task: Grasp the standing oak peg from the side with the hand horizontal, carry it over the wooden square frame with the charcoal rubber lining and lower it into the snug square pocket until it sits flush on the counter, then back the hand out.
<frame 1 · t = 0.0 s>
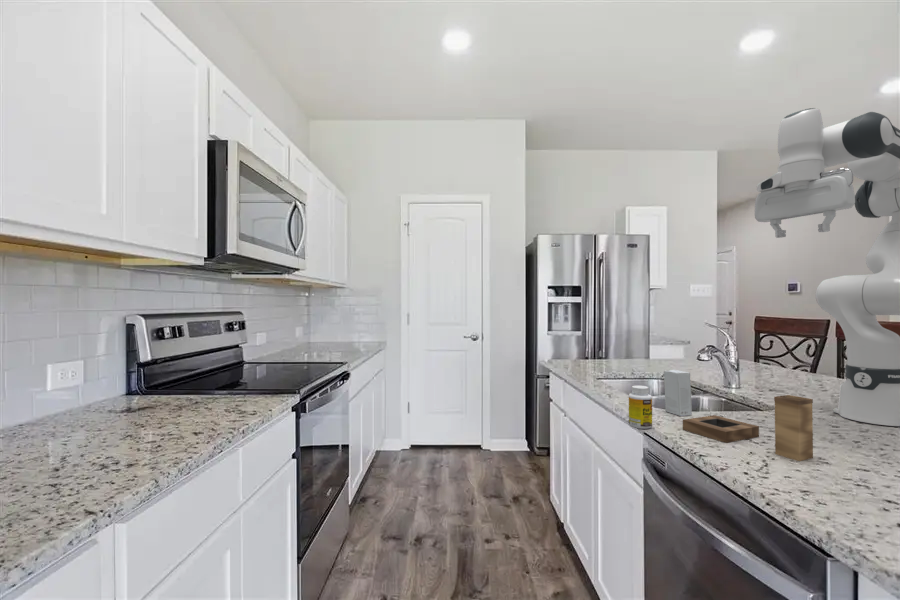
hand: (801, 234, 107), 48 cm above the countertop, tool pointing down, fingers open, 8 cm apart
peg: (793, 456, 91), on the countertop
skincare box: (677, 414, 127), on the countertop
wooden square frame: (719, 433, 108), on the countertop
supplement bottle: (640, 427, 114), on the countertop
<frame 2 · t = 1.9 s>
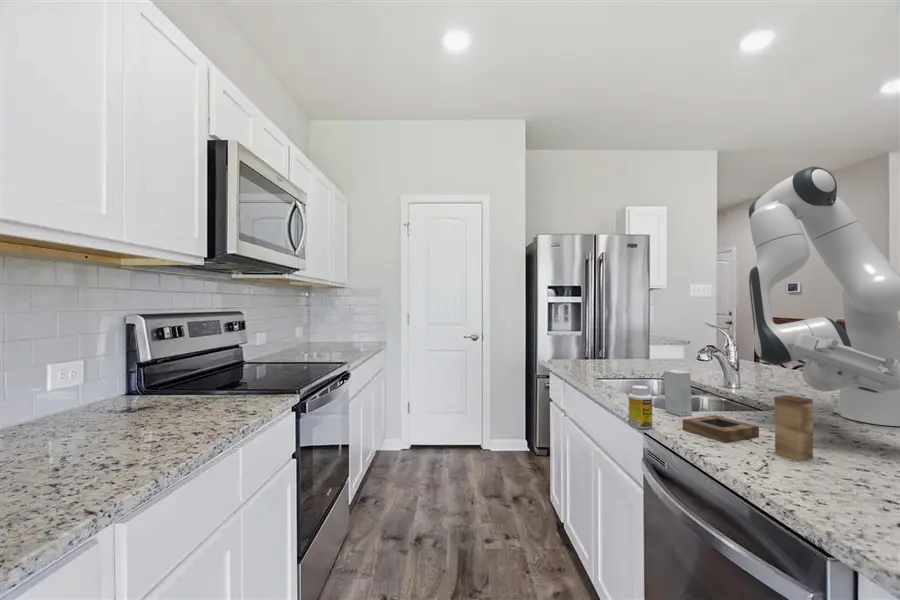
hand: (862, 352, 90), 21 cm above the countertop, tool pointing upward, fingers open, 8 cm apart
nothing on the countertop moved.
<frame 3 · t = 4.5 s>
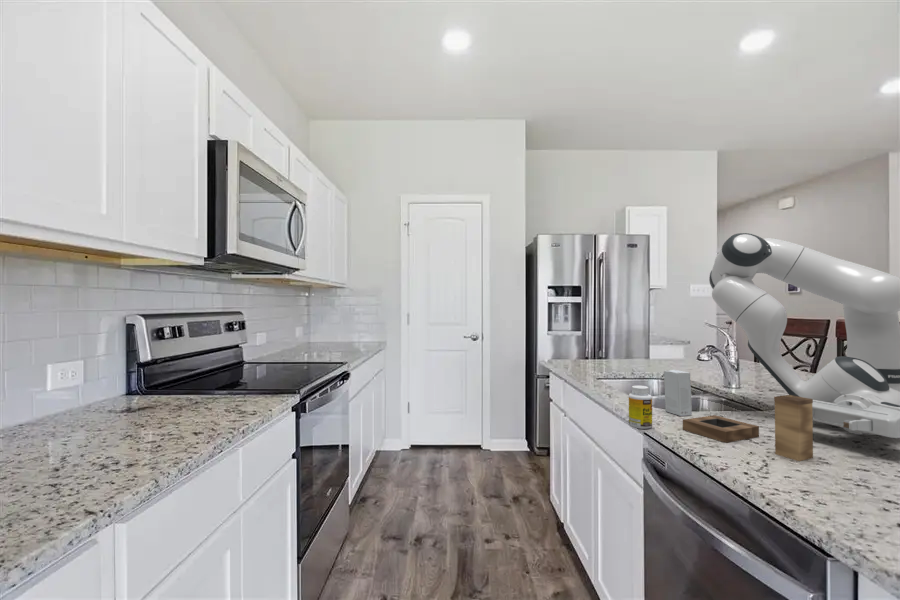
hand: (820, 419, 95), 6 cm above the countertop, tool horizontal, fingers open, 8 cm apart
nothing on the countertop moved.
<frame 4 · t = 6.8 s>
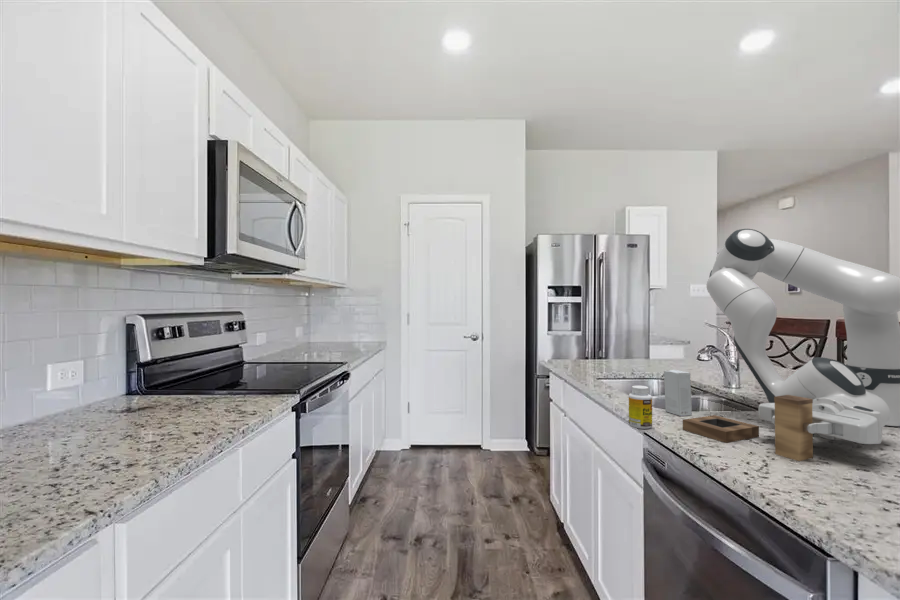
hand: (790, 424, 91), 7 cm above the countertop, tool horizontal, fingers closed on peg, 4 cm apart
peg: (793, 456, 91), on the countertop, touching gripper
everything else where it was.
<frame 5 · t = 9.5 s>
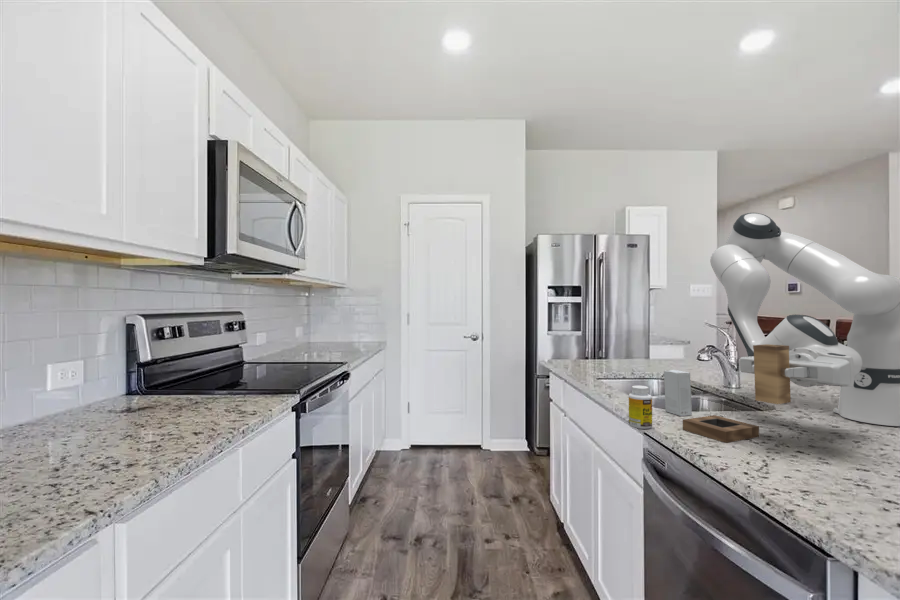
hand: (769, 371, 96), 17 cm above the countertop, tool horizontal, fingers closed on peg, 4 cm apart
peg: (772, 401, 96), point 10 cm above the countertop, touching gripper
everything else where it was.
when the fingers open (8 cm above the countertop, at t = 12.3 s): peg drops 1 cm, resting in wooden square frame.
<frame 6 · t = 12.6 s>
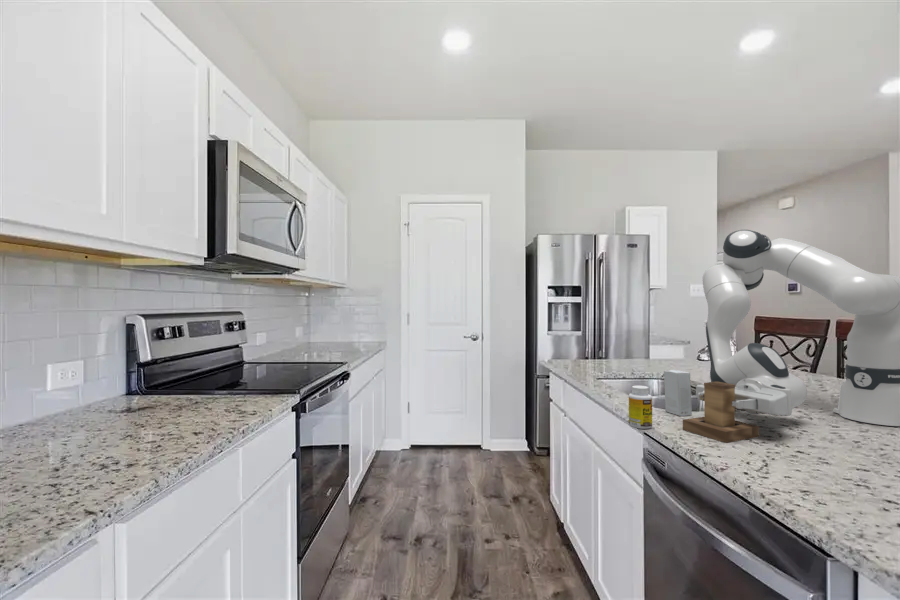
hand: (716, 400, 107), 8 cm above the countertop, tool horizontal, fingers open, 8 cm apart
peg: (719, 433, 108), resting in wooden square frame
everything else where it was.
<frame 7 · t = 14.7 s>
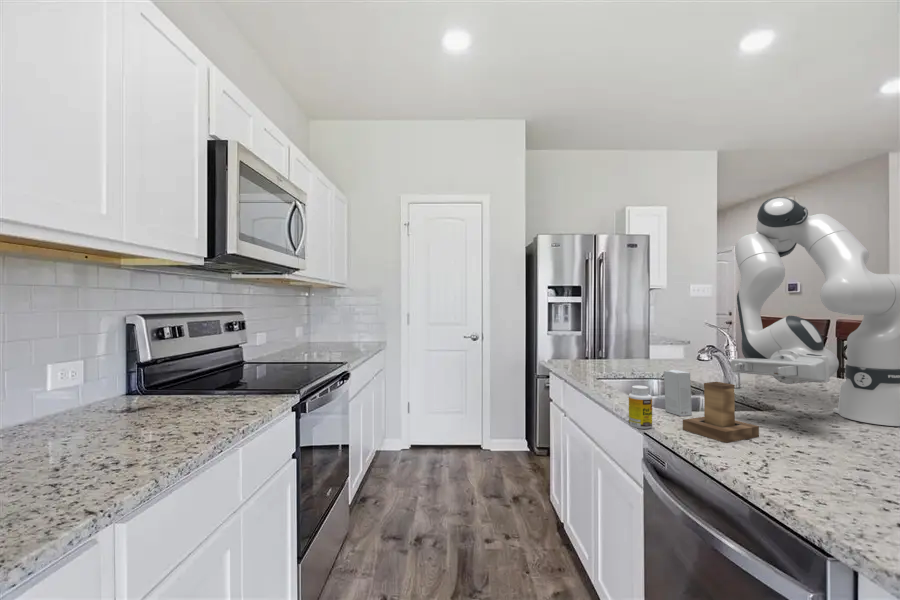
hand: (756, 369, 110), 15 cm above the countertop, tool horizontal, fingers open, 8 cm apart
nothing on the countertop moved.
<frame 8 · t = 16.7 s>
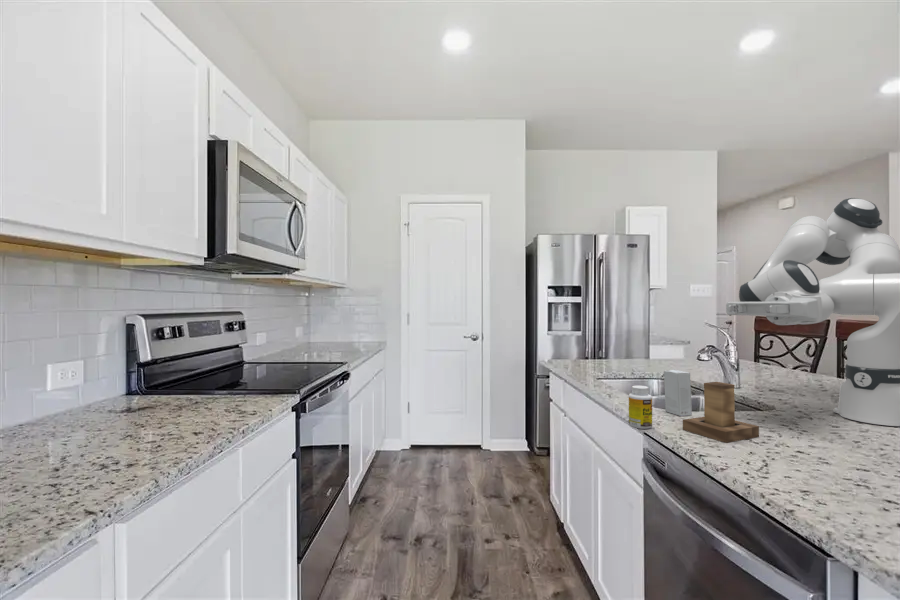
hand: (749, 308, 112), 30 cm above the countertop, tool horizontal, fingers open, 8 cm apart
nothing on the countertop moved.
at the end: peg 0.0 cm off-centre on the wooden square frame, point 0.0 cm above the wooden square frame's base; peg tilted 0°; the gripper is holding nothing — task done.
